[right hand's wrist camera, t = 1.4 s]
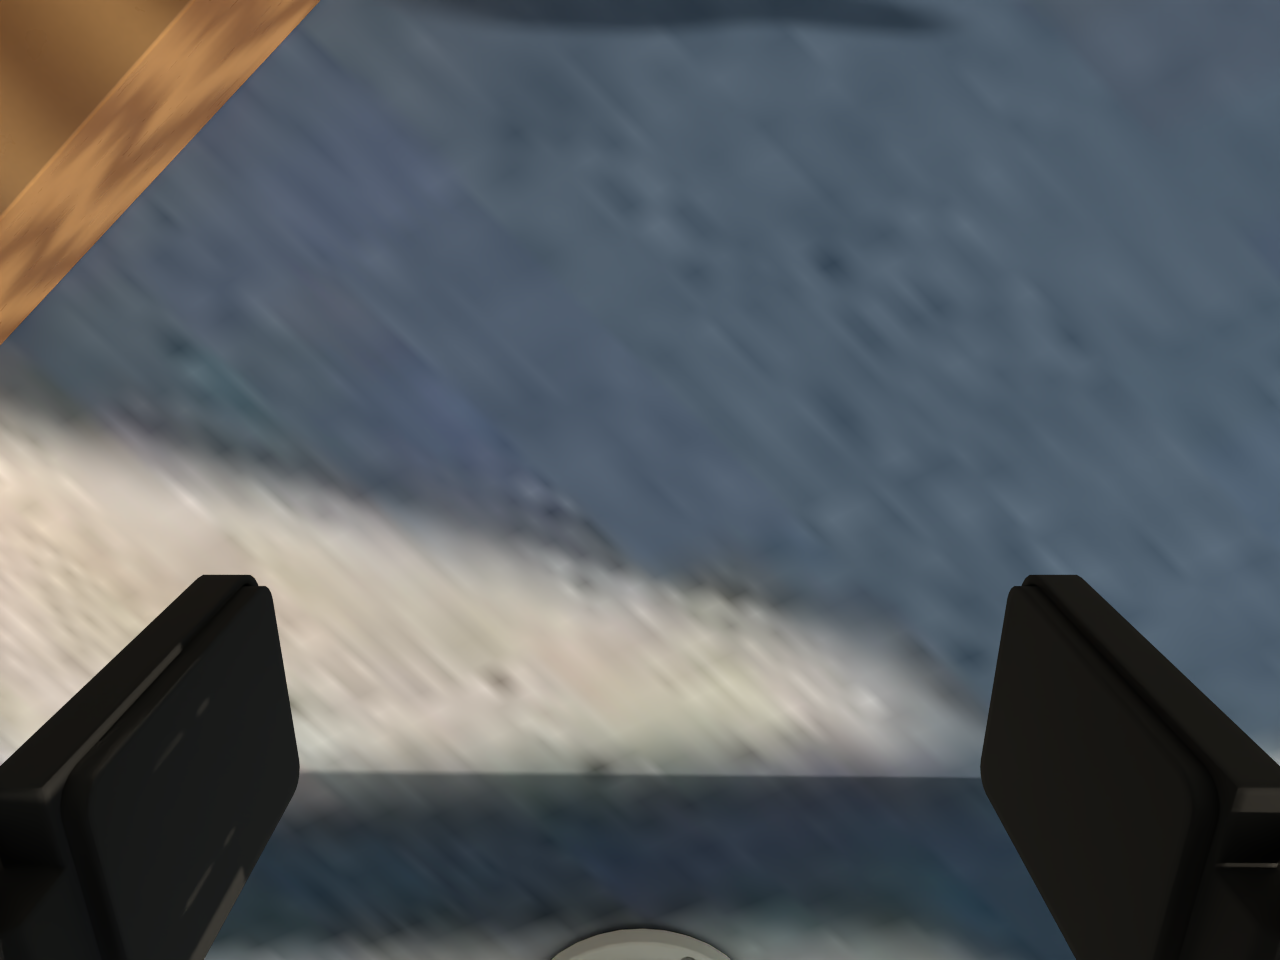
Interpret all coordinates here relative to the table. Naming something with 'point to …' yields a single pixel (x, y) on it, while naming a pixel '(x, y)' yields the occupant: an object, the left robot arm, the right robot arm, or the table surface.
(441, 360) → the table surface
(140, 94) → the post
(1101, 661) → the right robot arm
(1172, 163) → the table surface
